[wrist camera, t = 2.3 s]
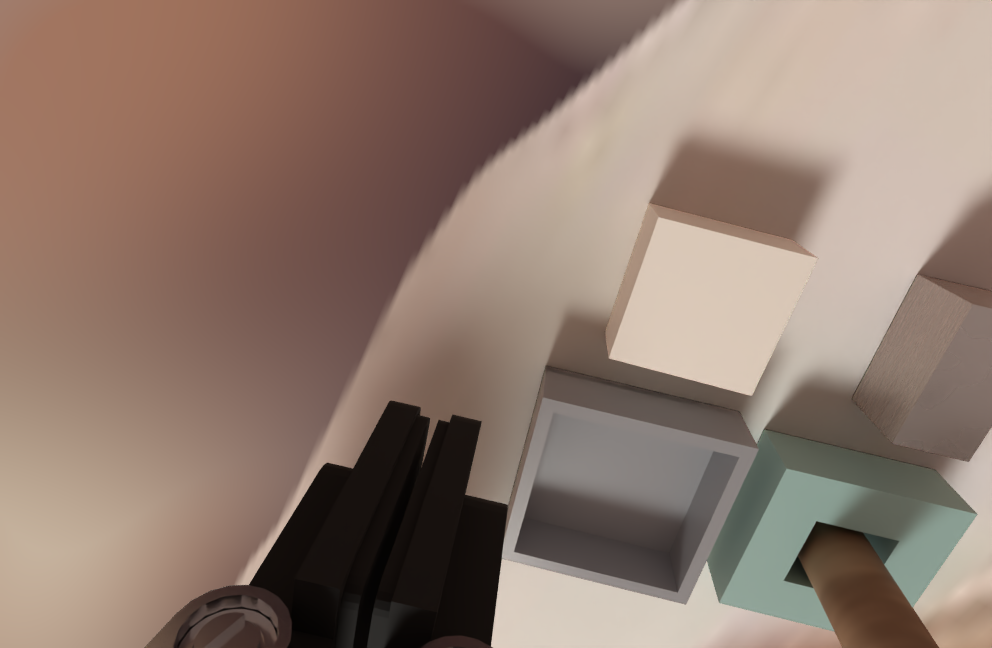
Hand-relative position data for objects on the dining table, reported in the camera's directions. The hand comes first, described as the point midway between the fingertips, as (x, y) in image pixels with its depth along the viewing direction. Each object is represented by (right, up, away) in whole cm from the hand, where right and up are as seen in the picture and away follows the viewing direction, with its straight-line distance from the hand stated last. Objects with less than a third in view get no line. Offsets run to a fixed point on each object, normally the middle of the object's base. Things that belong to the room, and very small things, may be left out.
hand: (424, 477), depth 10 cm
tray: (+7, -4, +18) cm, 20 cm away
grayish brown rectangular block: (+19, +2, +14) cm, 24 cm away
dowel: (+17, -7, +18) cm, 25 cm away
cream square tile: (+10, +4, +15) cm, 18 cm away
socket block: (+17, -7, +18) cm, 25 cm away
